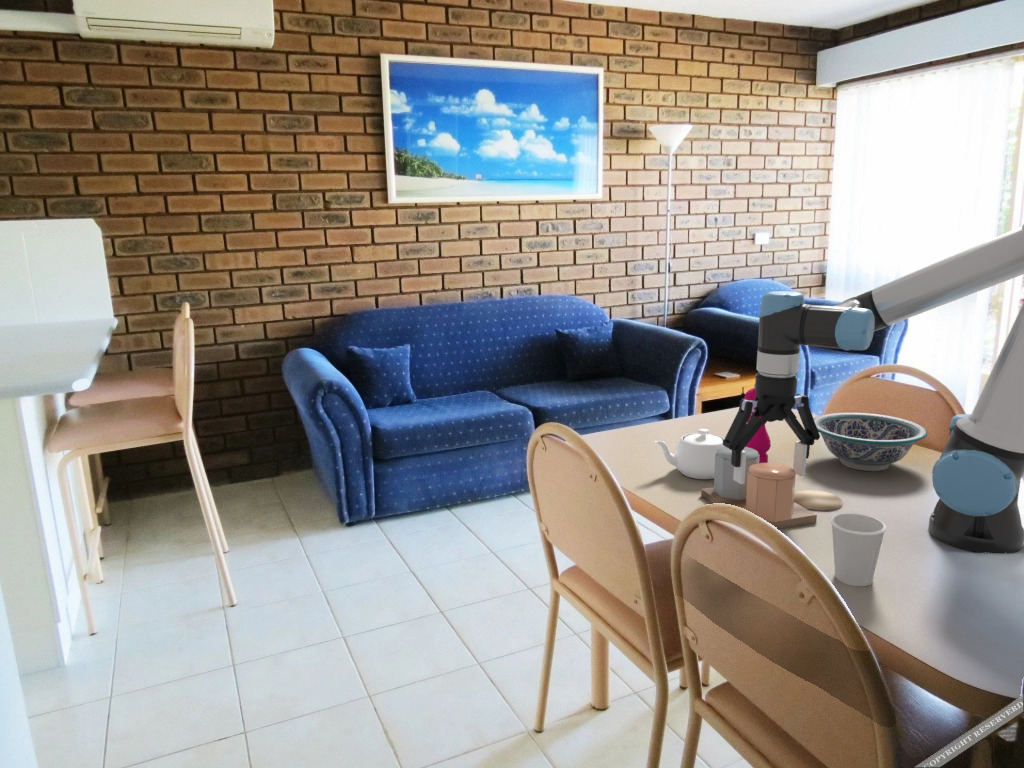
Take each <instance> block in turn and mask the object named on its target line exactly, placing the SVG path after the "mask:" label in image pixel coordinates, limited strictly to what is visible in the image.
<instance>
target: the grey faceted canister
mask: <svg viewBox="0 0 1024 768" xmlns="http://www.w3.org/2000/svg"><path fill="white" fill-rule="evenodd" d="M743 450H744V451H745V452H746V467H745V483H744V484H740V483H738V482H736V481H735V480H733V476H734V466H733V465H732V464H731V455H732V450H730V449H729V448H727V447H721V448H718V449H717V453H716V454H715V474H714V479H713V483H714V484H713V487H714V492H715V493H717V494H718V495H720V496H721V497H724V498H730V499H737V500H743V499H746V495H747V473H748V471H749V467H750V466H751V465H753V464H758V463H759V457H760V455H759V454H758V451H756V450H754V449H752V448H748V447H745V448H744V449H743Z"/></svg>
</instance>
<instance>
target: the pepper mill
mask: <svg viewBox="0 0 1024 768" xmlns="http://www.w3.org/2000/svg"><path fill="white" fill-rule="evenodd" d="M755 398H756V392H755V383H754V385H753V387H752V388H750V389H748V390H747V391H746V393H745V394H744V397H743V399H746V400H748V401H754V400H755ZM755 410H756V409H755V408H754V411H755ZM754 411H753V412H751V415H752V414H753V413H754ZM759 418H761V417H760V416H759ZM750 419H751V416H750V418H749V420H750ZM749 420H748V422H749ZM748 422H747V423H748ZM771 444H772V443H771V438H770V435H769V433H768V431H767V427H766V424H765V425H762V426H761V427H760V429H759V430H758V431H757V433H756V434H755V435H754V436H753V438H752V439H751V440H750V442H749V443H748V444H747V445H746V447H748V448H752V449H754V450H756V451H758V454H759V455H760V457H759V463H769V454H768V453H767V452H768V451H770V449H771V447H772V445H771Z"/></svg>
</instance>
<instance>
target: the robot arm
mask: <svg viewBox="0 0 1024 768" xmlns="http://www.w3.org/2000/svg"><path fill="white" fill-rule="evenodd" d="M1022 275H1024V223H1023V224H1022V225H1021V226H1020V227H1017V228H1015V229H1011V230H1010V231H1007V232H1005V233H1003V234H1001V235H999V236H996V237H994V238H991V239H989V240H987V241H983V242H982V243H980V244H977V245H974V246H971V247H970V248H967V249H965V250H963V251H961V252H958V253H956V254H953V255H950V256H949V257H946V258H943V259H942V260H939V261H937V262H934V263H932V264H930V265H928V266H925V267H923V268H921V269H917V270H915V271H913V272H911V273H908V274H906V275H904V276H902V277H901V276H900V277H899V278H896V279H894V280H892V281H890V282H887V283H884V284H882V285H880V286H878V287H875V288H873V289H871V290H868V291H866V292H863V293H861V294H859V295H857V296H853V297H850V298H847V299H845V300H843V301H842V302H840V303H837V304H836V305H817V304H809V303H805V298H804V294H802V293H801V292H798V291H797V292H795V291H787V290H785V291H784V290H782V291H779V290H778V291H777V290H775V291H769V292H768V291H767V292H766V293H764V294H763V295H762V297H761V300H760V301H761V303H760V310H759V315H758V319H759V320H758V321H759V322H758V337H757V338H758V340H757V341H758V342H757V343H758V344H757V356H756V371H758V372H757V373H756V374H755V382H754V384H755V387H754V388H755V392H756V398H755V400H754V401H748V400H746V399H744V398H741V400H739V406H738V407H739V408H738V411H737V413H736V415H735V417H734V419H733V421H732V423H731V425H730V427H729V430H728V431H727V433H726V435H725V437H724V441H723V446H725V447H727V448H729V449H730V450H732V455H731V464H732V465H733V466H734V476H733V480H735V481H736V482H738V483H740V484H744V483H745V467H746V452H745V451H744V450H743V449H744V448H745V447H746V445H747V444H748V443H749V442H750V440H751V439H752V438H753V436H754V435H755V434H756V433H757V431H758V430H759V429H760V427H761V426H762V425H765V426H766V425H767V424H766V423H767V422H769V423H774V422H775V421H779V422H781V421H782V422H783V421H785V423H786V424H787V425H788V427H789V428H790V430H792V432H793V433H794V435H795V436H796V437H797V439H798V440H795V442H794V451H793V452H794V453H793V464H792V469H793V470H794V471H795V473H796V475H797V476H800V477H805V476H806V475H805V474H806V465H807V459H809V456H810V451H811V450H810V447H811V446H813V445H814V444H815V441H819V440H820V438H821V434H820V432H818V429H817V427H816V424H815V421H814V417H813V413H812V411H811V408H810V398H809V396H808V395H804V394H802V393H797V389H798V388H797V387H798V376H797V375H796V374H797V373H798V372H799V364H800V363H799V362H800V351H801V350H800V349H801V348H800V347H801V346H811V347H821V348H829V349H836V350H837V349H838V350H839V349H840V350H844V351H865V350H867V349H868V348H869V347H870V345H871V343H872V341H873V337H874V332H877V331H879V330H883V329H884V328H887V327H889V326H891V325H894V324H897V323H899V322H902V321H904V320H908V319H910V318H912V317H915V316H918V315H921V314H923V313H925V312H928V311H931V310H934V309H936V308H939V307H941V306H944V305H946V304H949V303H952V302H954V301H957V300H959V299H962V298H965V297H968V296H970V295H972V294H975V293H977V292H981V291H983V290H986V289H989V288H991V287H994V286H997V285H998V284H1001V283H1004V282H1007V281H1009V280H1012V279H1014V278H1017V277H1020V276H1022ZM795 406H796V410H797V413H798V415H799V418H800V421H801V423H802V424H801V423H800V422H799V420H798V419H797V416H796V415H795V413H794V412H793V408H794V407H795ZM754 408H755V409H756V410H755V411H754ZM753 411H754V413H753V414H752V415H751V412H753ZM750 416H751V419H750V420H749V418H750ZM759 416H760V417H761V418H759ZM748 420H749V422H748ZM949 424H950V425H949V426H948V430H949V434H948V435H949V436H948V439H947V441H946V443H945V446H944V448H943V450H942V452H941V455H940V457H939V459H937V460H936V462H934V464H933V468H932V472H931V474H932V477H931V478H932V480H931V482H932V486H933V489H934V491H935V493H936V495H937V496H938V501H937V502H936V504H935V507H934V509H933V511H932V512H931V514H930V516H929V519H928V531H929V533H930V535H932V536H933V537H934V538H936V539H937V540H939V541H941V542H943V543H945V544H947V545H950V546H953V547H956V548H959V549H962V550H965V551H972V552H977V553H984V554H993V555H998V554H999V555H1000V554H1002V555H1004V554H1012V553H1015V552H1018V551H1020V550H1022V549H1023V548H1024V527H1023V524H1022V518H1021V514H1020V510H1019V504H1018V502H1019V493H1020V486H1021V480H1022V478H1023V475H1024V301H1023V303H1022V305H1021V307H1020V309H1019V311H1018V314H1017V315H1016V318H1015V320H1014V322H1013V325H1012V326H1011V329H1010V330H1009V333H1008V335H1007V337H1006V339H1005V341H1004V343H1003V346H1002V348H1001V350H1000V353H999V355H998V356H997V358H996V361H995V363H994V365H993V367H992V369H991V371H990V374H989V376H988V378H987V380H986V382H985V384H984V387H983V389H982V390H981V392H980V395H979V397H978V400H977V402H976V404H975V406H974V408H973V410H972V412H971V414H970V413H960V414H955V415H954V416H953V417H952V418H951V419H950V423H949Z"/></svg>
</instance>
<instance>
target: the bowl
mask: <svg viewBox="0 0 1024 768" xmlns="http://www.w3.org/2000/svg"><path fill="white" fill-rule="evenodd" d="M813 419H814V421H815V424H816V427H817V429H818V432H819V434H820V437H821V438H822V440H823V442H824V445H825V446H826V448H827V449H828V451H829V452H830V453H831V454H832V455H833V456H835V457H836V458H838V459H839V462H840V463H841V464H842V465H843V466H845V467H846V468H849V469H853V470H857V471H866V472H880V471H885V470H887V469H889V468H890V465H891V464H895V463H897V462H898V461H900V460H902V459H904V458H905V456H906V455H907V454H908V453H909V451H910V450H911V448H912V447H913V446H914V444H915V443H917V442H920V441H921V440H925V438H927V436H928V431H927V430H928V429H926V427H924V426H923V425H921V424H918V423H916V422H914V421H911V420H910V419H904V418H902V417H897V416H892V415H886V414H885V415H884V414H879V413H869V412H849V411H848V412H833V413H831V412H830V413H826V414H821V415H818V416H816V417H813Z"/></svg>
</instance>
